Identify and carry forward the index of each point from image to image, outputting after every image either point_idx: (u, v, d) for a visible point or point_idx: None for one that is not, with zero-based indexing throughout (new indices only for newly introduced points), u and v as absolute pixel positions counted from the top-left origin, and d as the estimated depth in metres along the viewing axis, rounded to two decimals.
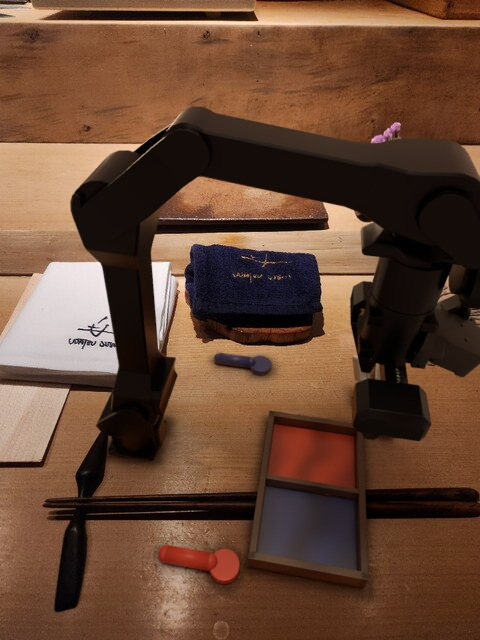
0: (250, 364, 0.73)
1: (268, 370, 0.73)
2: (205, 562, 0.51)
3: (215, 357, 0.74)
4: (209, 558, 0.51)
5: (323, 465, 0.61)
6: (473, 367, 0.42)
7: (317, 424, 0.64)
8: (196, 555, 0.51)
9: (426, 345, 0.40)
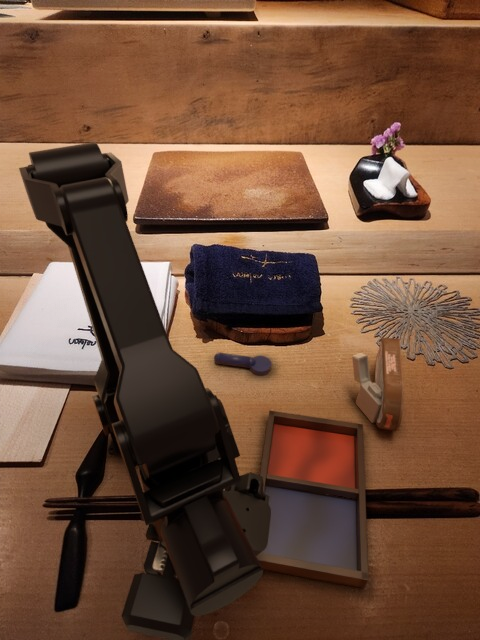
0: (250, 364, 0.73)
1: (268, 370, 0.73)
2: None
3: (215, 357, 0.74)
4: None
5: (323, 465, 0.61)
6: None
7: (317, 424, 0.64)
8: None
9: None
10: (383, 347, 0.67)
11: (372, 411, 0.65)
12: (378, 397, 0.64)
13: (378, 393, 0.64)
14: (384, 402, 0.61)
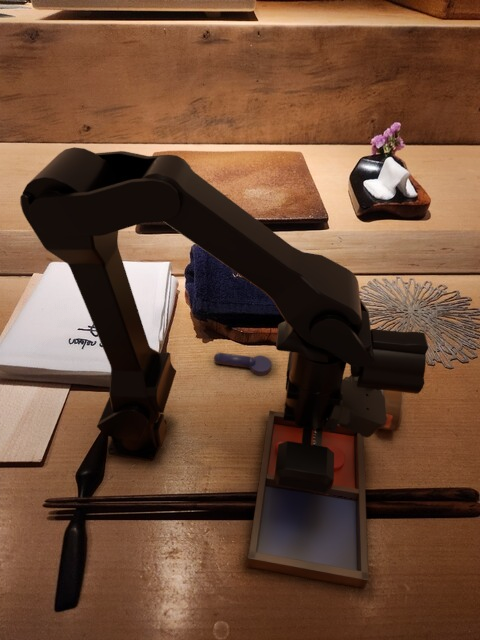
0: (250, 364, 0.73)
1: (268, 370, 0.73)
2: None
3: (215, 357, 0.74)
4: None
5: None
6: (374, 430, 0.52)
7: None
8: None
9: (334, 414, 0.50)
10: None
11: None
12: None
13: None
14: None
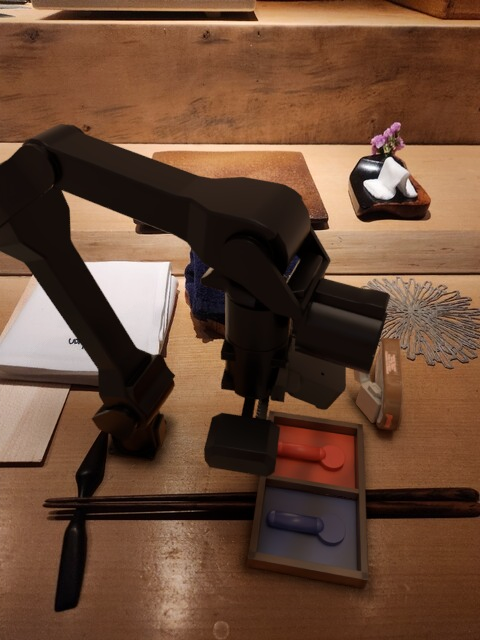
0: (317, 531, 0.53)
1: (342, 539, 0.53)
2: (317, 453, 0.60)
3: (268, 518, 0.54)
4: (320, 450, 0.60)
5: None
6: (331, 401, 0.42)
7: (317, 424, 0.64)
8: (308, 448, 0.60)
9: (279, 379, 0.41)
10: (383, 347, 0.67)
11: (372, 411, 0.65)
12: (378, 397, 0.64)
13: (378, 393, 0.64)
14: (384, 402, 0.61)
